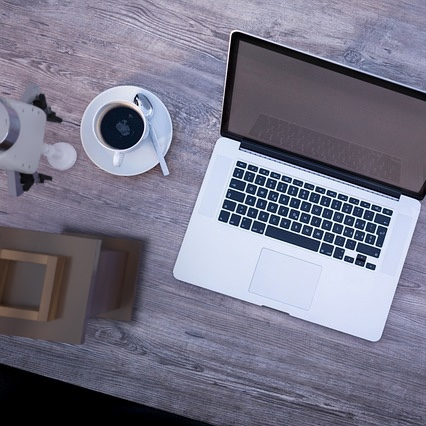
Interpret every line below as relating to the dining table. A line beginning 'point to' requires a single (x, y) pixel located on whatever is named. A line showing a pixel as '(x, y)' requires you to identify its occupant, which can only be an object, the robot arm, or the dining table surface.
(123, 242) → the stand base
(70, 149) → the chess piece
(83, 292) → the socket stand
